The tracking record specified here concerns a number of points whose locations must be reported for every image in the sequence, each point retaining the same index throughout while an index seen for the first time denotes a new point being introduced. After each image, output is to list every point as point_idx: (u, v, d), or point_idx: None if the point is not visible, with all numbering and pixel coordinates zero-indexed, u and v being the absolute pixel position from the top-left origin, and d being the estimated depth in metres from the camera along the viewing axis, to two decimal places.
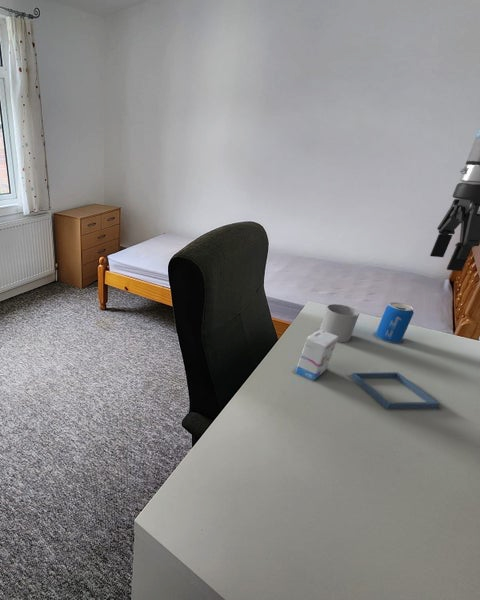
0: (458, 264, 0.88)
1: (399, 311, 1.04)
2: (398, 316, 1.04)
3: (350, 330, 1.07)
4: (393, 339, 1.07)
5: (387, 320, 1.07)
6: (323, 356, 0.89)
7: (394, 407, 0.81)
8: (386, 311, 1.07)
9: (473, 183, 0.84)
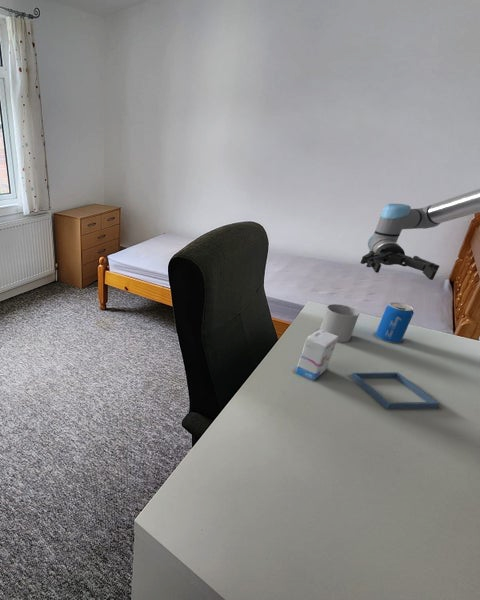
0: (376, 266, 1.13)
1: (399, 311, 1.04)
2: (398, 316, 1.04)
3: (350, 330, 1.07)
4: (393, 339, 1.07)
5: (387, 320, 1.07)
6: (323, 356, 0.89)
7: (394, 407, 0.81)
8: (386, 311, 1.07)
9: None
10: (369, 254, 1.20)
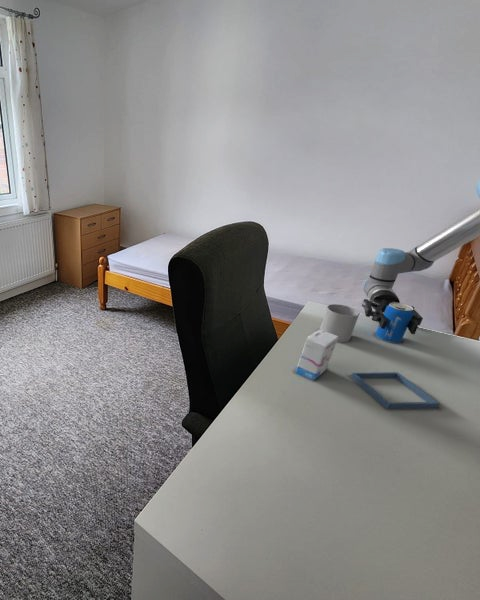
0: (382, 321, 1.06)
1: (399, 311, 1.04)
2: (398, 316, 1.04)
3: (350, 330, 1.07)
4: (393, 339, 1.07)
5: (387, 320, 1.07)
6: (323, 356, 0.89)
7: (394, 407, 0.81)
8: (386, 311, 1.07)
9: None
10: (369, 305, 1.15)
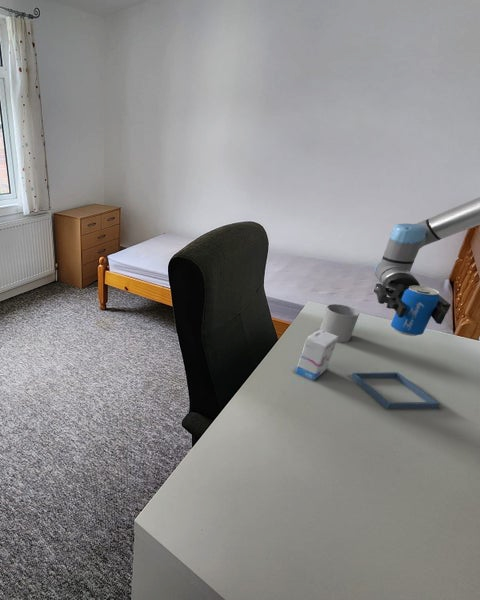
0: (399, 308, 0.86)
1: (421, 295, 0.84)
2: (421, 302, 0.84)
3: (350, 330, 1.07)
4: (413, 331, 0.87)
5: (406, 307, 0.86)
6: (323, 356, 0.89)
7: (394, 407, 0.81)
8: (405, 296, 0.87)
9: None
10: (383, 289, 0.95)
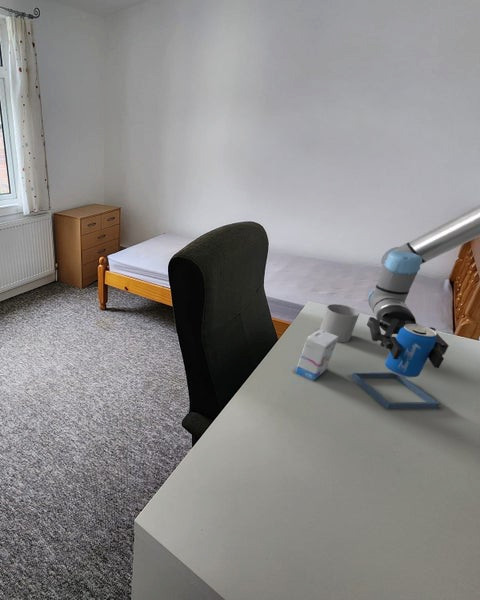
0: (394, 349, 0.80)
1: (417, 336, 0.78)
2: (417, 343, 0.78)
3: (350, 330, 1.07)
4: (409, 373, 0.81)
5: (401, 347, 0.81)
6: (323, 356, 0.89)
7: (394, 407, 0.81)
8: (400, 335, 0.81)
9: None
10: (376, 325, 0.89)
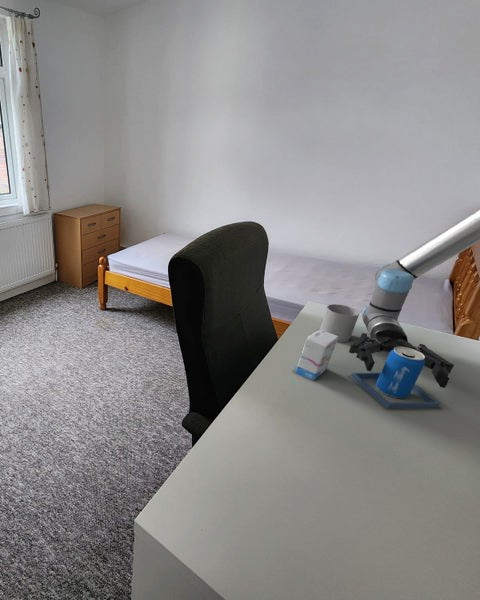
0: (368, 361, 0.86)
1: (406, 360, 0.80)
2: (406, 366, 0.81)
3: (350, 330, 1.07)
4: (399, 394, 0.84)
5: (391, 370, 0.83)
6: (323, 356, 0.89)
7: (394, 407, 0.81)
8: (390, 358, 0.84)
9: None
10: (360, 340, 0.93)
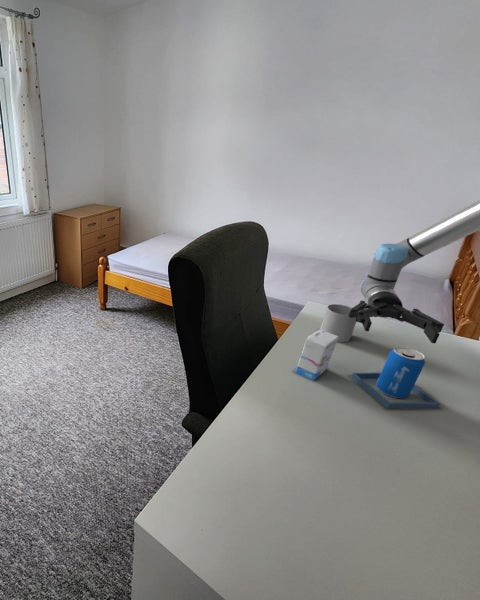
0: (365, 323, 0.94)
1: (406, 360, 0.80)
2: (406, 366, 0.81)
3: (350, 330, 1.07)
4: (399, 394, 0.84)
5: (391, 370, 0.83)
6: (323, 356, 0.89)
7: (394, 407, 0.81)
8: (389, 358, 0.84)
9: None
10: (359, 306, 1.01)
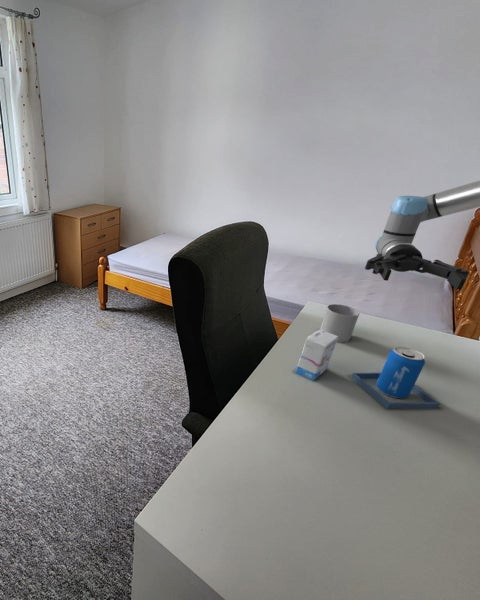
0: (384, 272, 0.88)
1: (406, 360, 0.80)
2: (406, 366, 0.81)
3: (350, 330, 1.07)
4: (399, 394, 0.84)
5: (391, 370, 0.83)
6: (323, 356, 0.89)
7: (394, 407, 0.81)
8: (389, 358, 0.84)
9: None
10: (376, 258, 0.95)
